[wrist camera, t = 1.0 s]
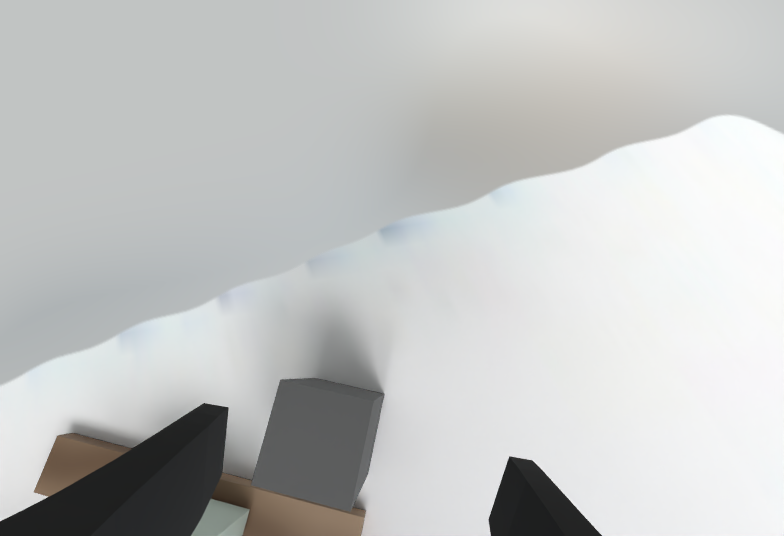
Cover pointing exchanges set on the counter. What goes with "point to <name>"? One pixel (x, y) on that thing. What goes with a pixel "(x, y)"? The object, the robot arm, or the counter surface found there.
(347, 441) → the block
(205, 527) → the pale green block
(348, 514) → the door frame
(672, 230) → the counter surface
